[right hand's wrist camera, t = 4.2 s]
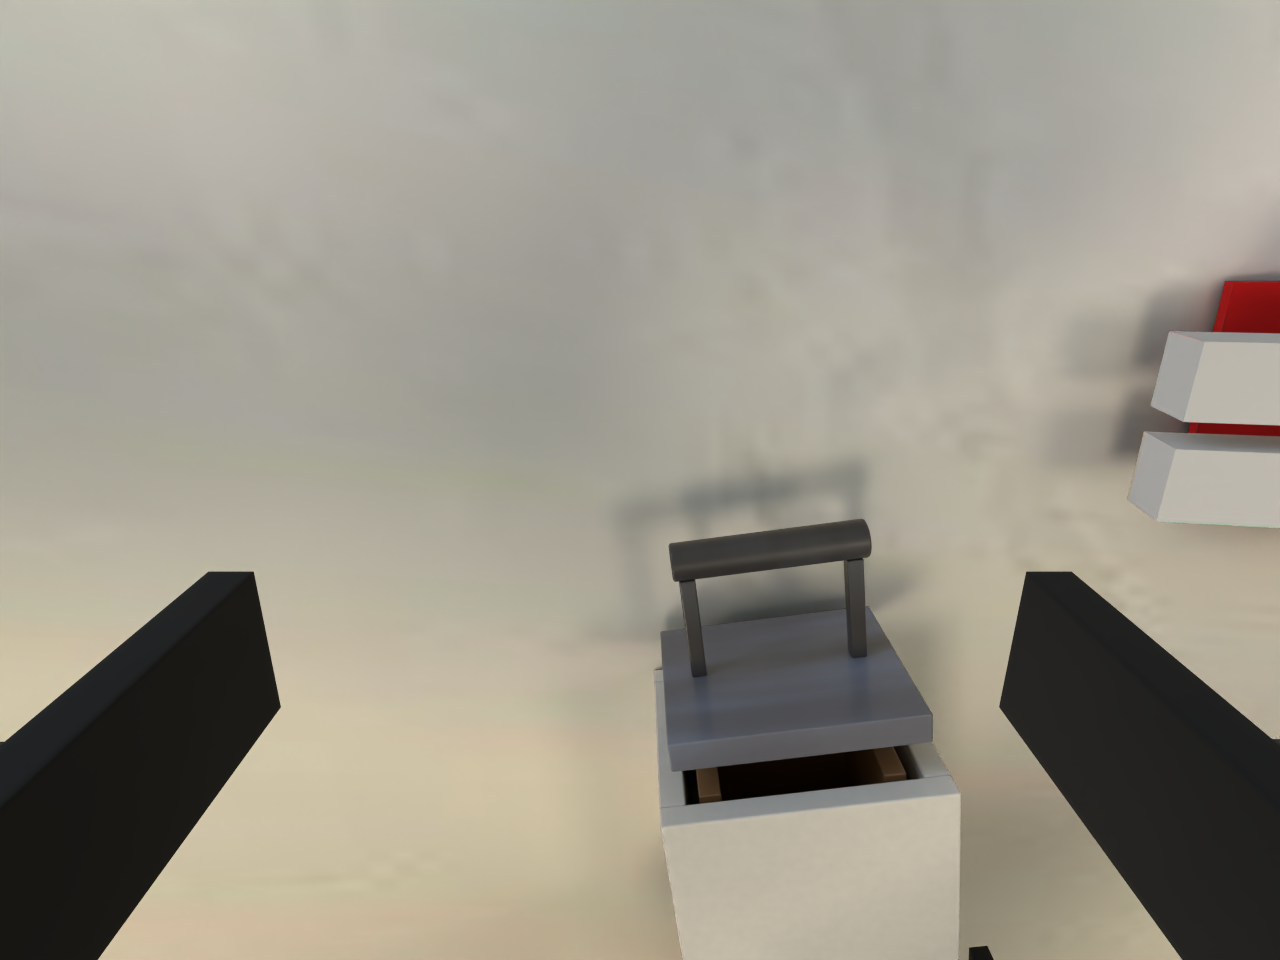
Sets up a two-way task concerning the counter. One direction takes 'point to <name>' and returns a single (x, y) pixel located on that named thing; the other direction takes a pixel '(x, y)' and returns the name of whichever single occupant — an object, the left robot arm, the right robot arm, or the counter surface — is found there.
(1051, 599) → the right robot arm
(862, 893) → the cabinet
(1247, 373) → the toy
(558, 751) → the counter surface
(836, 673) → the drawer
